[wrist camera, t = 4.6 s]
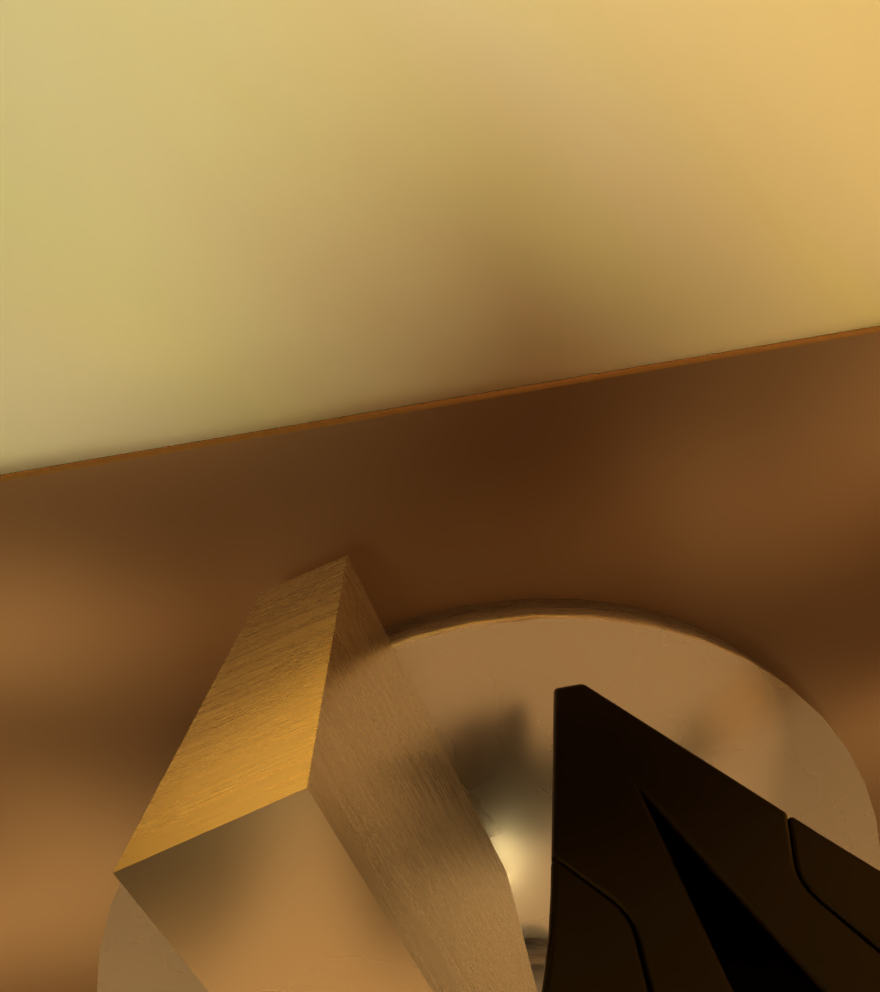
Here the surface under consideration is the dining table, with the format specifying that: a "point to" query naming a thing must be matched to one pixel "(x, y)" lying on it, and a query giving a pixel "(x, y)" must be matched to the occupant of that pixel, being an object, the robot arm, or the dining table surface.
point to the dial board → (419, 572)
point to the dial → (421, 789)
